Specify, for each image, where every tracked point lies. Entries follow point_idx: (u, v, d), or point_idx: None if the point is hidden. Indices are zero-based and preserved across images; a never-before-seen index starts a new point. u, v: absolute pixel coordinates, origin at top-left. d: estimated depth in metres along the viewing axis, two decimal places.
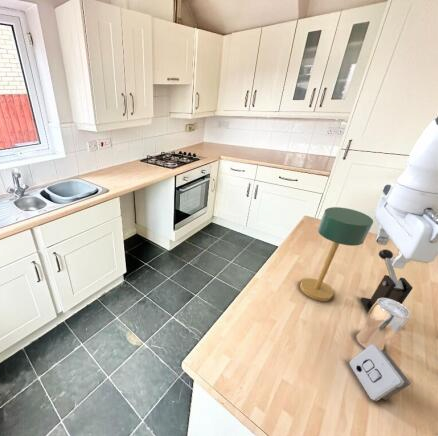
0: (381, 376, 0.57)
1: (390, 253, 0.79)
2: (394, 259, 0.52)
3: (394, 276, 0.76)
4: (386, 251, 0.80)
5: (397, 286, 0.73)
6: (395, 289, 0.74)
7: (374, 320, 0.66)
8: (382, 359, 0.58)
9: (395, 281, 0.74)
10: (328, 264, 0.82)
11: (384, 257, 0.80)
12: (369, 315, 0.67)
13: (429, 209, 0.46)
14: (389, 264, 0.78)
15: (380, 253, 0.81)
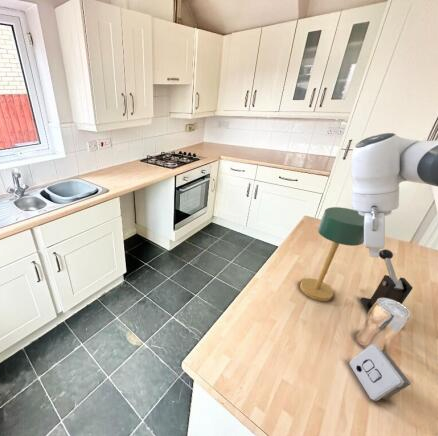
0: (381, 376, 0.57)
1: (390, 253, 0.79)
2: None
3: (394, 276, 0.76)
4: (386, 251, 0.80)
5: (397, 286, 0.73)
6: (395, 289, 0.74)
7: (374, 320, 0.66)
8: (382, 359, 0.58)
9: (395, 281, 0.74)
10: (328, 264, 0.82)
11: (384, 257, 0.80)
12: (369, 315, 0.67)
13: (373, 206, 0.59)
14: (389, 264, 0.78)
15: (380, 253, 0.81)
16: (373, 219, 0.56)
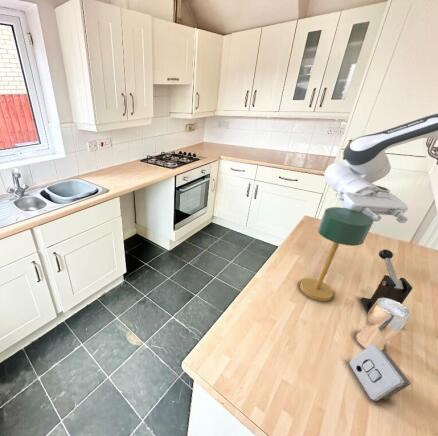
0: (381, 376, 0.57)
1: (390, 253, 0.79)
2: None
3: (394, 276, 0.76)
4: (386, 251, 0.80)
5: (397, 286, 0.73)
6: (395, 289, 0.74)
7: (374, 320, 0.66)
8: (382, 359, 0.58)
9: (395, 281, 0.74)
10: (328, 264, 0.82)
11: (384, 257, 0.80)
12: (369, 315, 0.67)
13: None
14: (389, 264, 0.78)
15: (380, 253, 0.81)
16: (336, 194, 0.83)
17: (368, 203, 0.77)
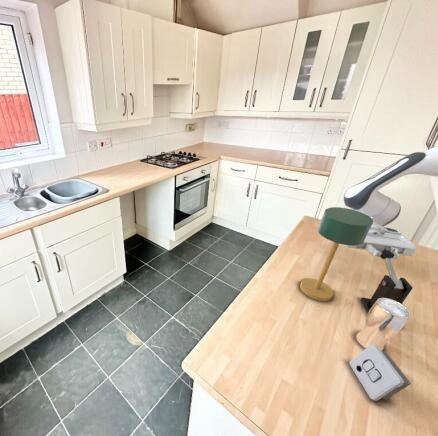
0: (381, 376, 0.57)
1: (390, 253, 0.79)
2: None
3: (394, 276, 0.76)
4: (386, 251, 0.80)
5: (397, 286, 0.73)
6: (395, 289, 0.74)
7: (374, 320, 0.66)
8: (382, 359, 0.58)
9: (395, 281, 0.74)
10: (328, 264, 0.82)
11: (384, 257, 0.80)
12: (369, 315, 0.67)
13: None
14: (389, 264, 0.78)
15: None
16: None
17: (364, 240, 0.85)
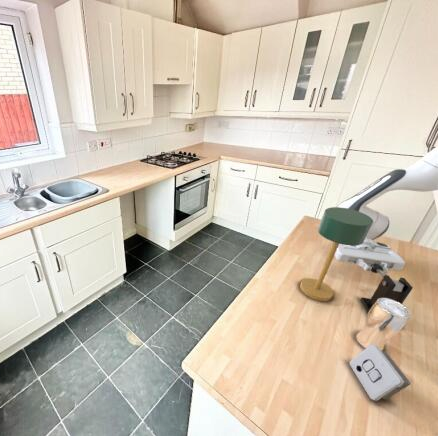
0: (381, 376, 0.57)
1: (379, 265, 0.84)
2: None
3: None
4: (375, 263, 0.84)
5: (397, 283, 0.74)
6: (396, 287, 0.73)
7: (374, 320, 0.66)
8: (382, 359, 0.58)
9: (393, 280, 0.75)
10: (328, 264, 0.82)
11: (375, 269, 0.83)
12: (369, 315, 0.67)
13: None
14: (382, 272, 0.81)
15: None
16: None
17: (355, 254, 0.89)
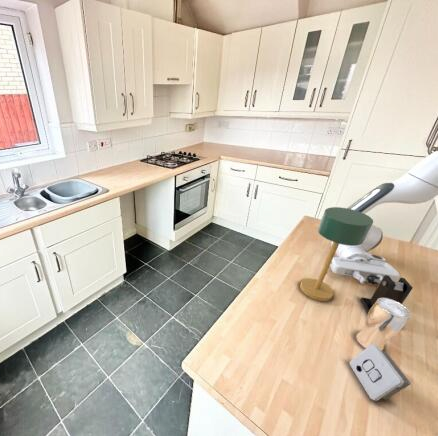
0: (381, 376, 0.57)
1: (375, 275, 0.85)
2: None
3: None
4: None
5: (396, 281, 0.74)
6: (397, 285, 0.73)
7: (374, 320, 0.66)
8: (382, 359, 0.58)
9: None
10: (328, 264, 0.82)
11: (373, 279, 0.84)
12: (369, 315, 0.67)
13: None
14: (380, 280, 0.81)
15: (367, 277, 0.86)
16: None
17: (351, 267, 0.90)
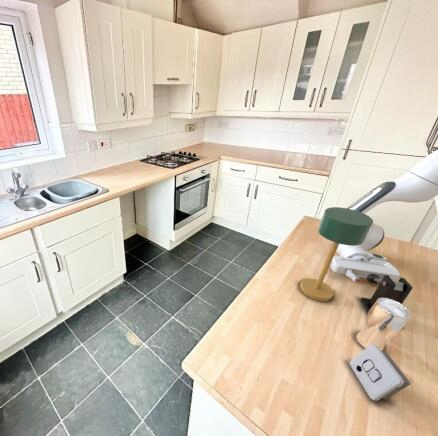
0: (381, 376, 0.57)
1: (375, 274, 0.85)
2: None
3: None
4: None
5: (396, 282, 0.74)
6: (397, 286, 0.73)
7: (374, 320, 0.66)
8: (382, 359, 0.58)
9: None
10: (328, 264, 0.82)
11: (373, 278, 0.84)
12: (369, 315, 0.67)
13: None
14: (380, 279, 0.81)
15: (367, 276, 0.86)
16: None
17: (351, 266, 0.91)
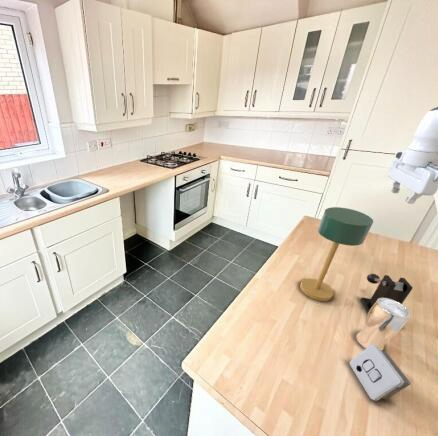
0: (381, 376, 0.57)
1: (375, 274, 0.85)
2: (408, 198, 0.81)
3: None
4: None
5: (396, 282, 0.74)
6: (397, 286, 0.73)
7: (374, 320, 0.66)
8: (382, 359, 0.58)
9: None
10: (328, 264, 0.82)
11: (373, 278, 0.84)
12: (369, 315, 0.67)
13: (431, 162, 0.75)
14: (380, 279, 0.81)
15: (367, 276, 0.86)
16: None
17: None
